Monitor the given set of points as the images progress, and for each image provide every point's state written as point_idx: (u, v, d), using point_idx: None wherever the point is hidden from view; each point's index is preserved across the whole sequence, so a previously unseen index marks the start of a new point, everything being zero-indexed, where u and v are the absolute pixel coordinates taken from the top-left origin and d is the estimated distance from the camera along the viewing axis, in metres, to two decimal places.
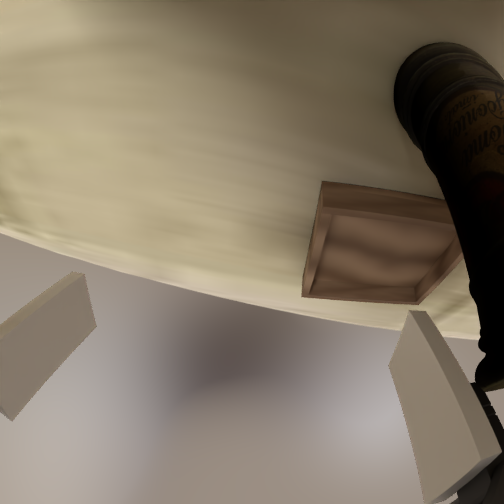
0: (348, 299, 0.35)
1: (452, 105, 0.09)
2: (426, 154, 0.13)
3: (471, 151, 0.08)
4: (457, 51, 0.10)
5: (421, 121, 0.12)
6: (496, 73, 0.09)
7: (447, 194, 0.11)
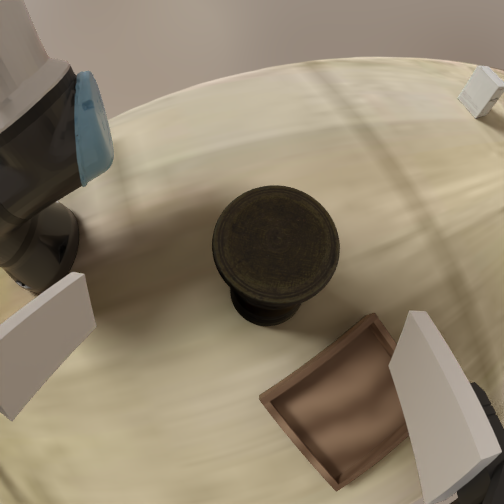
0: (375, 461, 0.25)
1: None
2: (253, 314, 0.29)
3: None
4: None
5: (240, 305, 0.30)
6: None
7: (248, 307, 0.26)
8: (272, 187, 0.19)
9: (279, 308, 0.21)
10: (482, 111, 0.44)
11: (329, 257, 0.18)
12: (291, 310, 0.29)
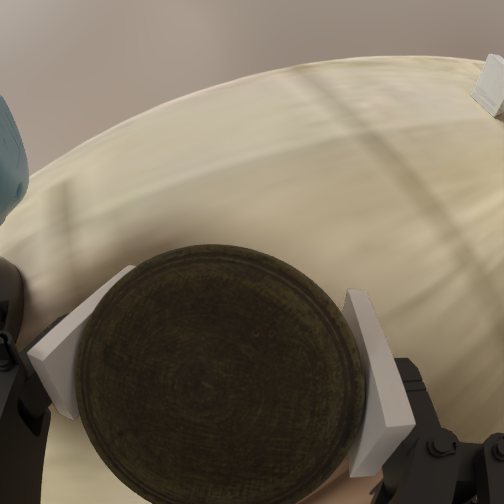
0: None
1: None
2: None
3: None
4: None
5: None
6: None
7: None
8: (193, 250, 0.08)
9: None
10: (500, 107, 0.34)
11: (339, 424, 0.06)
12: None
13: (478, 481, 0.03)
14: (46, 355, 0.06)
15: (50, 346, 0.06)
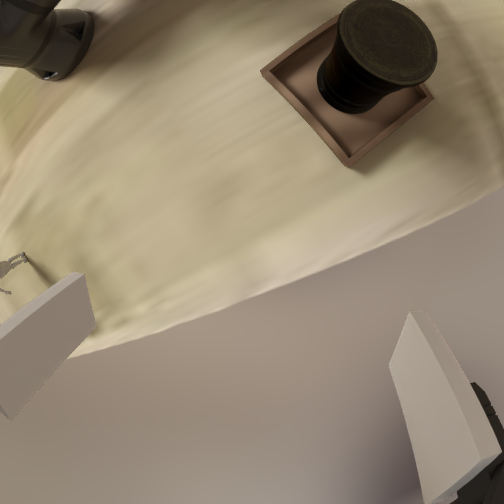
0: (381, 137, 0.31)
1: (327, 76, 0.26)
2: (349, 101, 0.27)
3: (333, 73, 0.23)
4: None
5: (335, 95, 0.28)
6: None
7: (352, 93, 0.24)
8: None
9: (389, 91, 0.20)
10: None
11: (431, 55, 0.14)
12: (381, 98, 0.27)
13: None
14: None
15: None
